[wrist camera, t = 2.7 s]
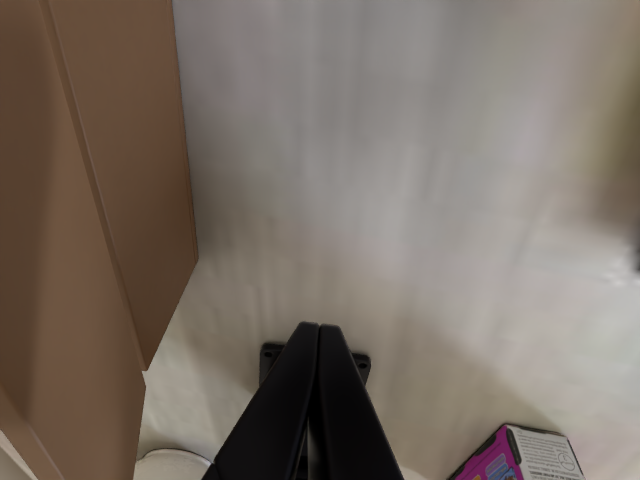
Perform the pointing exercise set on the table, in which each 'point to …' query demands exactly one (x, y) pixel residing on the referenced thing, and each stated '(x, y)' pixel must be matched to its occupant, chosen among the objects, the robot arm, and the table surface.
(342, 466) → the robot arm
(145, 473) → the trinket box
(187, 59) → the table surface
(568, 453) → the candy bar box
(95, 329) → the flap
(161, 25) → the carton
